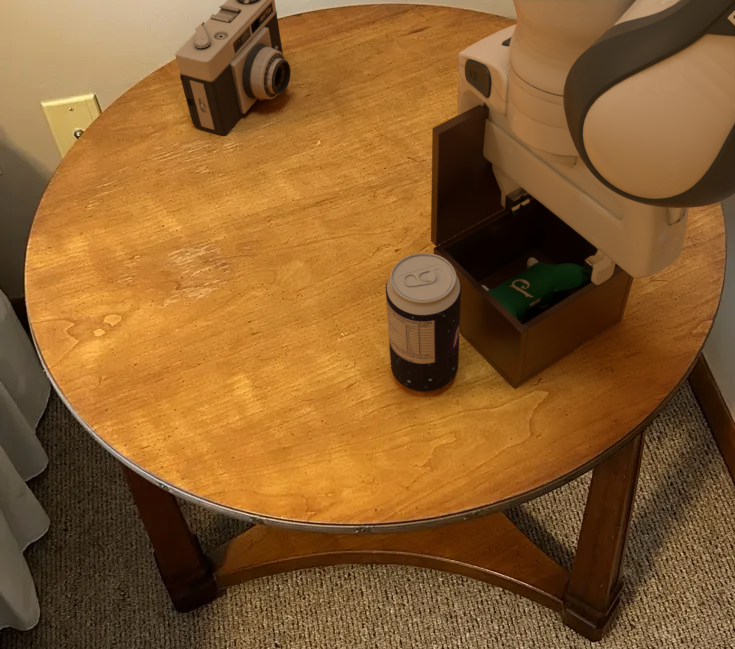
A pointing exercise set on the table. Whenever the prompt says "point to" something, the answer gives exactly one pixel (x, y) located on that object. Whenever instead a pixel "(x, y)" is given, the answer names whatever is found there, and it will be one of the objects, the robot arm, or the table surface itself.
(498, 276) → the chest
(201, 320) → the table surface
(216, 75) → the camera
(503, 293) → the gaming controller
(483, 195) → the lid
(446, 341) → the beverage can
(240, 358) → the table surface
